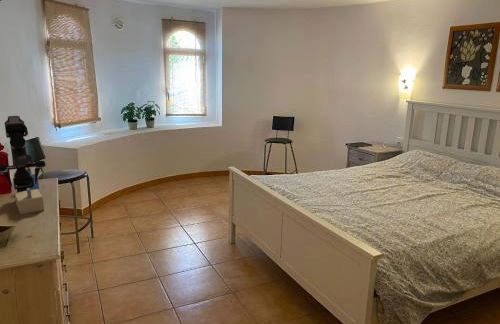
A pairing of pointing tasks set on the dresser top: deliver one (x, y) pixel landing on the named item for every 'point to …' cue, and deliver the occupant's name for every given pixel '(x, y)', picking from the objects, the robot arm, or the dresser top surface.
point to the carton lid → (28, 195)
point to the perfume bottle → (36, 186)
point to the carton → (30, 206)
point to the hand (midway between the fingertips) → (24, 185)
